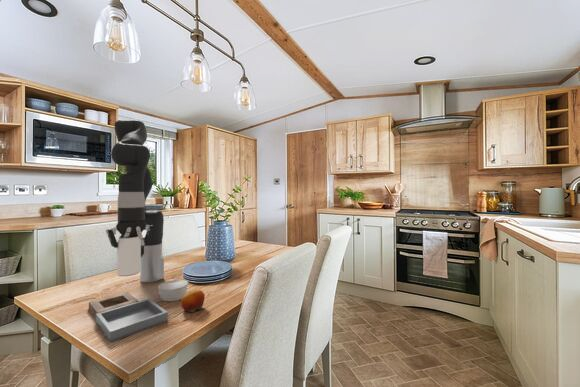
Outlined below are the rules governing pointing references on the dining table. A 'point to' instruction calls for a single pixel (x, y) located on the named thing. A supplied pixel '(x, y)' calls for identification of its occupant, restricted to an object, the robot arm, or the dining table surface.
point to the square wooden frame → (111, 302)
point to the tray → (130, 319)
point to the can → (128, 256)
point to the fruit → (193, 300)
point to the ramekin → (172, 290)
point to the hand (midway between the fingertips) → (131, 258)
